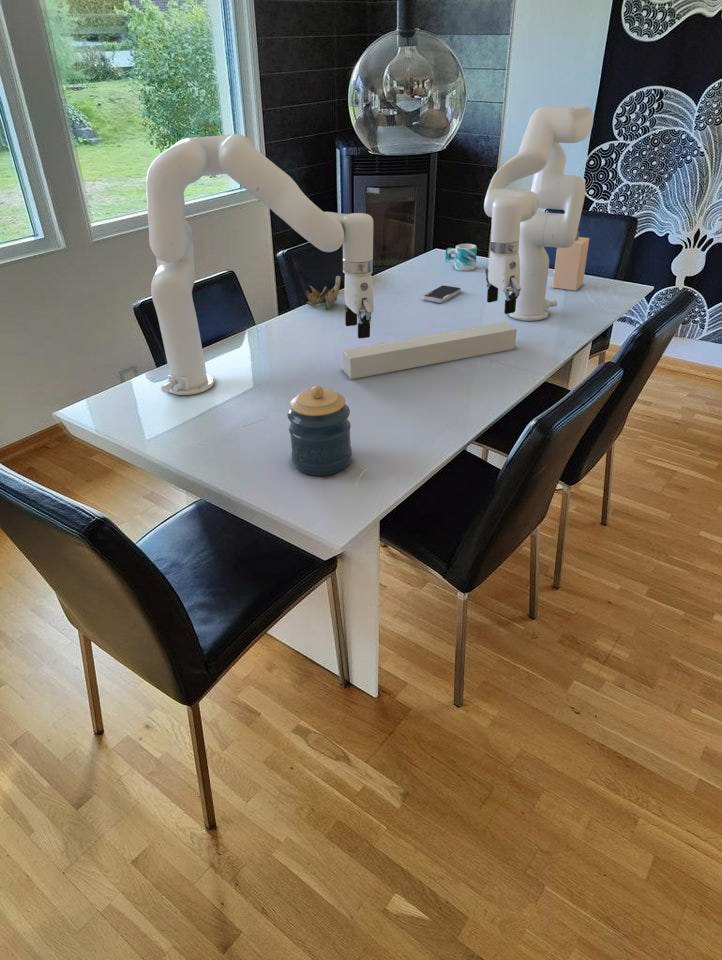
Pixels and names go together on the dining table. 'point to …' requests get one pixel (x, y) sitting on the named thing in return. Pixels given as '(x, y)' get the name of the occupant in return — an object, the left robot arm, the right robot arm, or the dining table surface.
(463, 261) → the mug
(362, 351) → the beam
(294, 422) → the canister
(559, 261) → the tan upright block
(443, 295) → the smartphone
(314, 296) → the jawbone
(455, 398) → the dining table surface
